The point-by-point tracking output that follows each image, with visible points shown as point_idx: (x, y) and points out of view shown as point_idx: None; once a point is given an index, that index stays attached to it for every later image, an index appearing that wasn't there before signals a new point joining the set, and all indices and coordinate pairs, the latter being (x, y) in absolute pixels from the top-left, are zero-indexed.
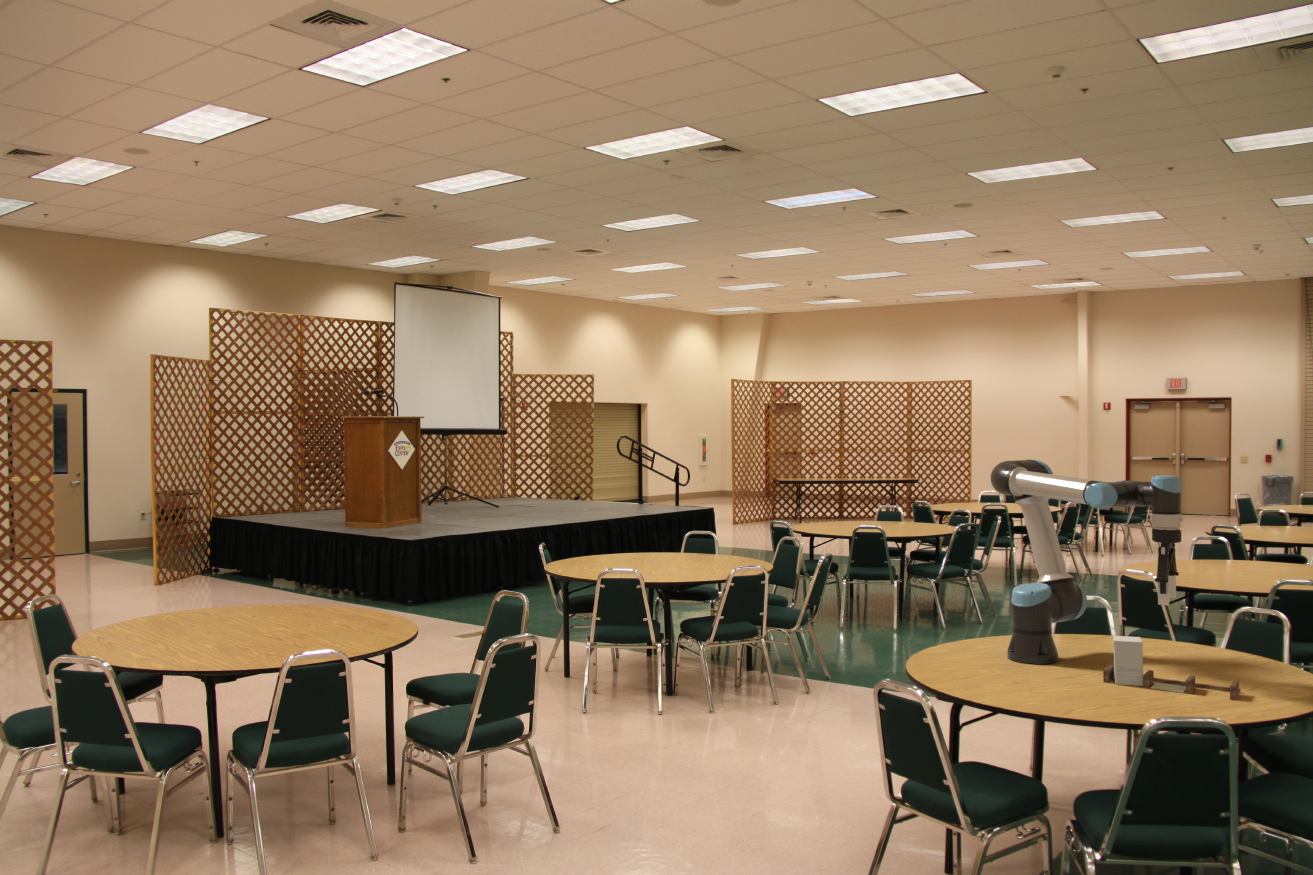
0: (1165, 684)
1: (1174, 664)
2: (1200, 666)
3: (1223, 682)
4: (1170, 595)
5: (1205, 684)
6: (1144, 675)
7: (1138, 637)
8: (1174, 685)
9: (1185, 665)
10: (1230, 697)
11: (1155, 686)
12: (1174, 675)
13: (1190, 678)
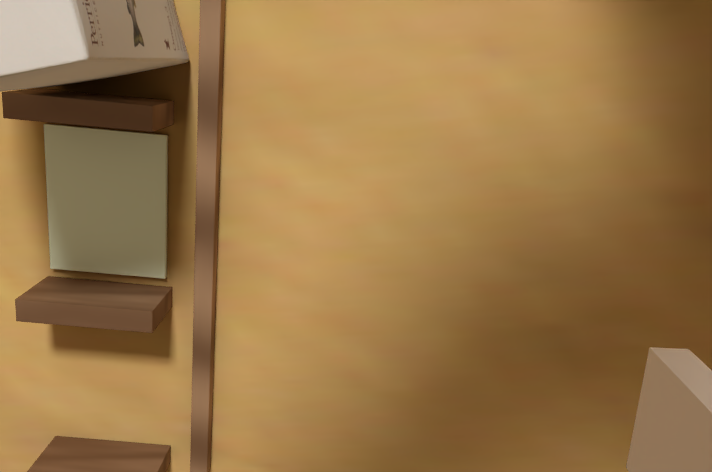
0: (149, 182)
1: (682, 177)
2: (681, 296)
3: (364, 402)
4: (652, 429)
5: (202, 351)
6: (2, 98)
7: (58, 48)
8: (151, 222)
9: (678, 230)
10: (52, 442)
11: (75, 142)
12: (403, 200)
13: (76, 317)
